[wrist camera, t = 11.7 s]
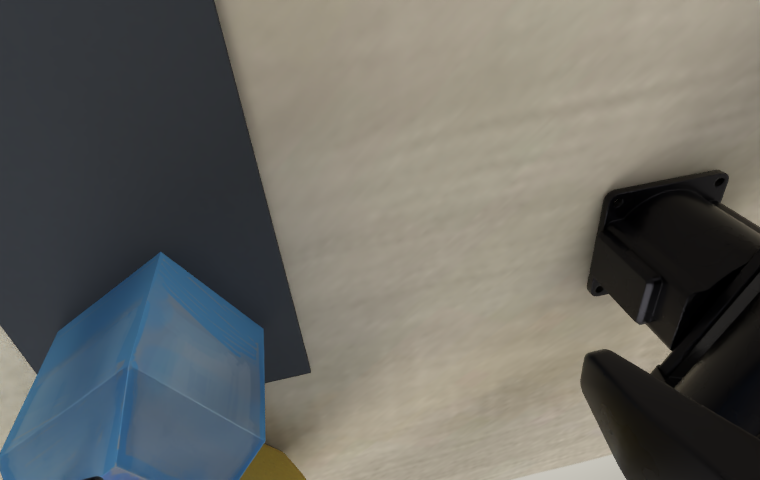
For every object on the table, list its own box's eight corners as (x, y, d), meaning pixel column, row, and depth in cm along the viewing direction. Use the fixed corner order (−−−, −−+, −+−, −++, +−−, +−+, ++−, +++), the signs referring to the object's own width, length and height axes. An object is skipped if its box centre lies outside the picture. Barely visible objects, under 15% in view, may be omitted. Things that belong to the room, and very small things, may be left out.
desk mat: (196, -68, 15) (195, -68, 15) (310, 368, 26) (310, 373, 26) (-245, -17, 14) (-254, -15, 13) (77, 421, 25) (75, 426, 25)
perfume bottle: (58, 331, 21) (-111, 683, 12) (160, 251, 20) (71, 566, 10) (170, 394, 25) (114, 706, 15) (263, 328, 24) (268, 620, 14)
